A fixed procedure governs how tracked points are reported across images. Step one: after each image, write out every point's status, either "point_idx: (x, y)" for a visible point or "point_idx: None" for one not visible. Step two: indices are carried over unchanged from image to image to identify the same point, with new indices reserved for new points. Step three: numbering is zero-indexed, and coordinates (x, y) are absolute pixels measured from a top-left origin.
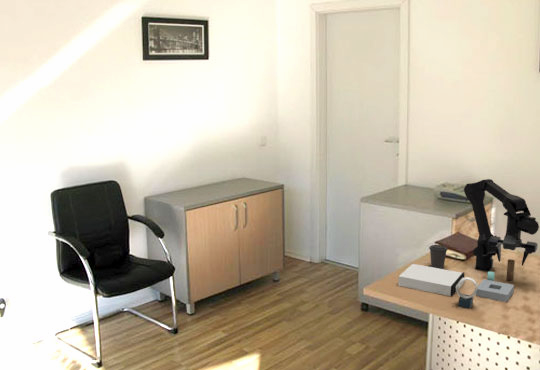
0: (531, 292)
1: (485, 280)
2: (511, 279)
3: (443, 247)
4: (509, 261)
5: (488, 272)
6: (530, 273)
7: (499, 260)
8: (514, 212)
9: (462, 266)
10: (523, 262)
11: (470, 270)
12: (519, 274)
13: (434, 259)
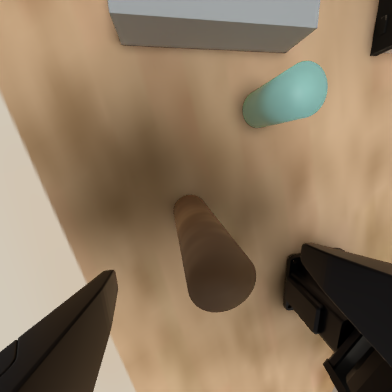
0: (30, 100)
1: (304, 7)
2: (180, 202)
3: None
4: (233, 249)
5: (322, 84)
6: (138, 345)
7: (314, 246)
8: None
9: (380, 250)
10: (79, 292)
11: (352, 228)
12: (174, 307)
13: None
